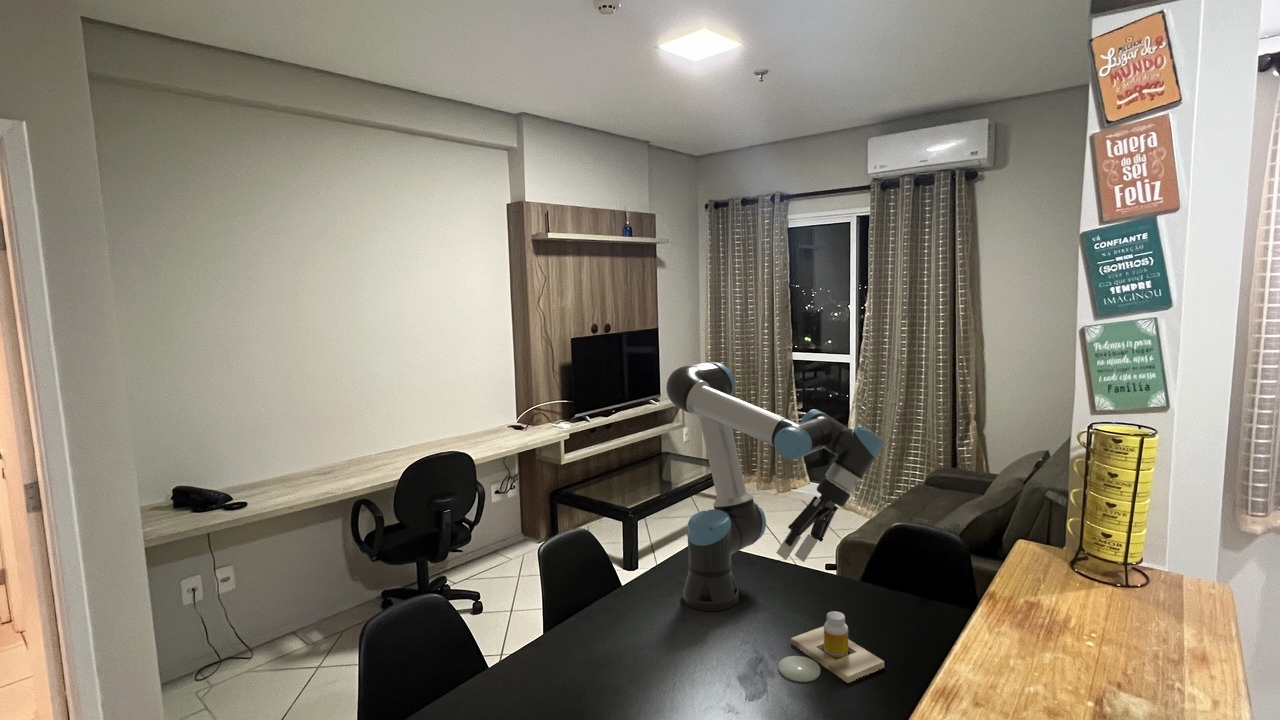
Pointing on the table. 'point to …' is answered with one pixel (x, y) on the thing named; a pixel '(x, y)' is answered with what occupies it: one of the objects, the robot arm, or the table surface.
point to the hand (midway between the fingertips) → (790, 557)
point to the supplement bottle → (835, 635)
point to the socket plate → (845, 667)
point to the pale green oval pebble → (799, 668)
